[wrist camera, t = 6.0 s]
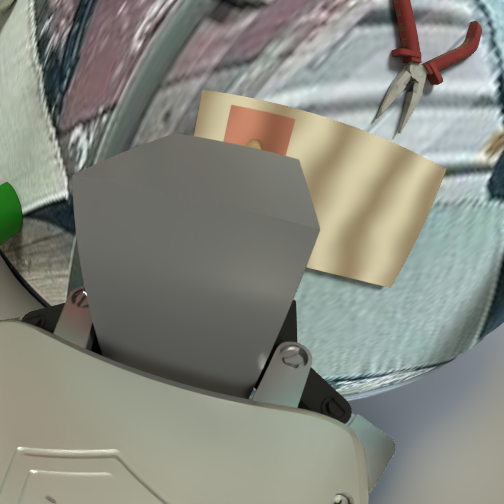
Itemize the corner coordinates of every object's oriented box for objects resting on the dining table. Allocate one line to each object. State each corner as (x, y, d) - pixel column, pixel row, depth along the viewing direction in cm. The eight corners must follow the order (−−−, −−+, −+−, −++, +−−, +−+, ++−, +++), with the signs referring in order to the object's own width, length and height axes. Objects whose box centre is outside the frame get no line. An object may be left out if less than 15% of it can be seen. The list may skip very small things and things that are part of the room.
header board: (439, 165, 24) (463, 178, 19) (387, 280, 32) (399, 306, 28) (206, 90, 23) (190, 88, 19) (184, 230, 31) (168, 252, 27)
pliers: (336, 96, 23) (341, 95, 20) (399, -30, 13) (407, -37, 10) (423, 153, 24) (434, 158, 22) (475, 30, 14) (487, 28, 12)
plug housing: (175, 133, 10) (72, 175, 5) (298, 159, 10) (320, 228, 5) (162, 335, 16) (127, 419, 11) (239, 355, 16) (223, 447, 11)
